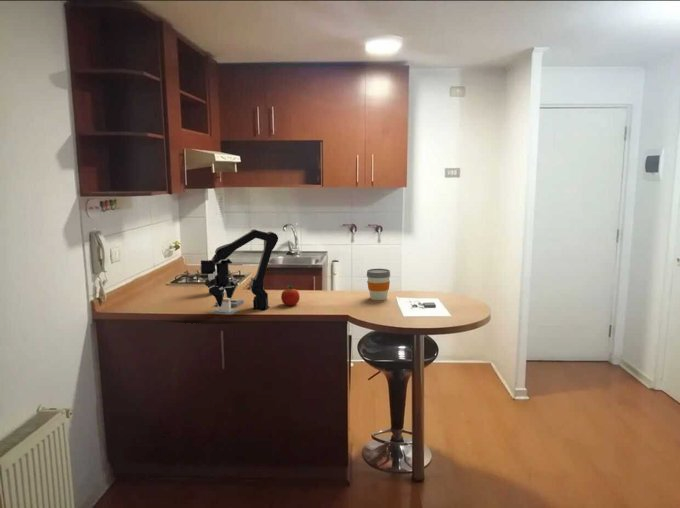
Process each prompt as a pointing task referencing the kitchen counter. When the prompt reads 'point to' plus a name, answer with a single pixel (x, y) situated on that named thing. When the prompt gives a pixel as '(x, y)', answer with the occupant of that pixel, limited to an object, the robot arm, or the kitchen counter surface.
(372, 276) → the reusable coffee cup
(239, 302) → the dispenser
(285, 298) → the fruit
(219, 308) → the tan banded white slab
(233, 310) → the mat
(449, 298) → the kitchen counter surface
